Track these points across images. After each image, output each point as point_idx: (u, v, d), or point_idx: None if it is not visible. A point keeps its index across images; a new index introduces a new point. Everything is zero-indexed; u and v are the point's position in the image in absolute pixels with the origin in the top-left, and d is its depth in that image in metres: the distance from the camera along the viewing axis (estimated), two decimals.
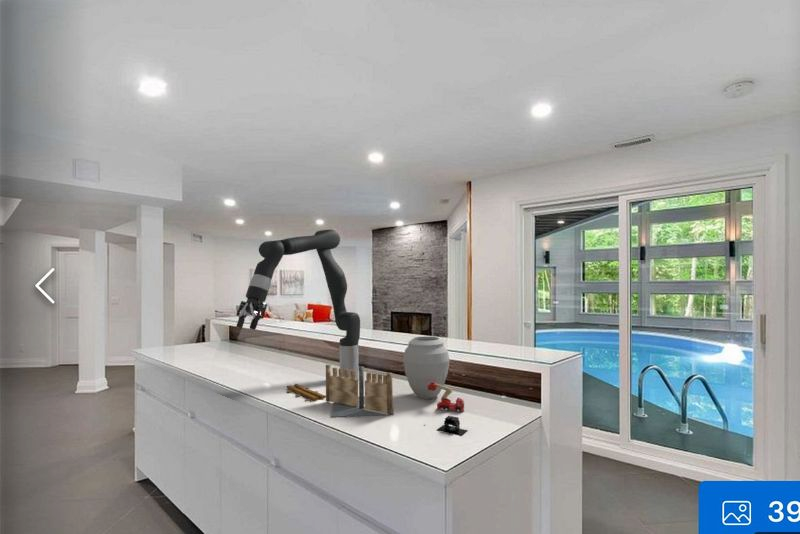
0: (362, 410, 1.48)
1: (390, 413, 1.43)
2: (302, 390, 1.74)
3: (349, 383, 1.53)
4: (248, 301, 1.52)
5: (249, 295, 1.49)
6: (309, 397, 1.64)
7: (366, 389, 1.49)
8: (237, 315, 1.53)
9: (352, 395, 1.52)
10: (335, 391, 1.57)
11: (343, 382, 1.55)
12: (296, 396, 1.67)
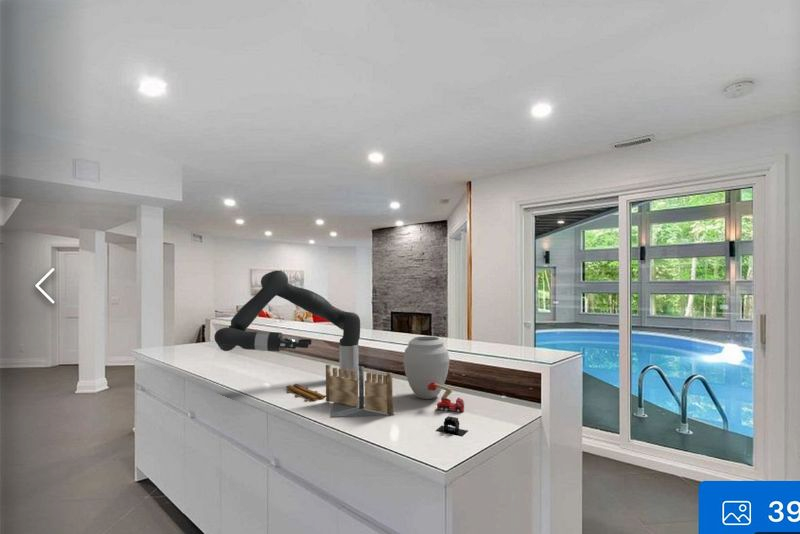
0: (362, 410, 1.48)
1: (390, 413, 1.43)
2: (302, 390, 1.74)
3: (349, 383, 1.53)
4: None
5: (278, 351, 1.56)
6: (309, 397, 1.64)
7: (366, 389, 1.49)
8: None
9: (352, 395, 1.52)
10: (335, 391, 1.57)
11: (343, 382, 1.55)
12: (296, 396, 1.67)
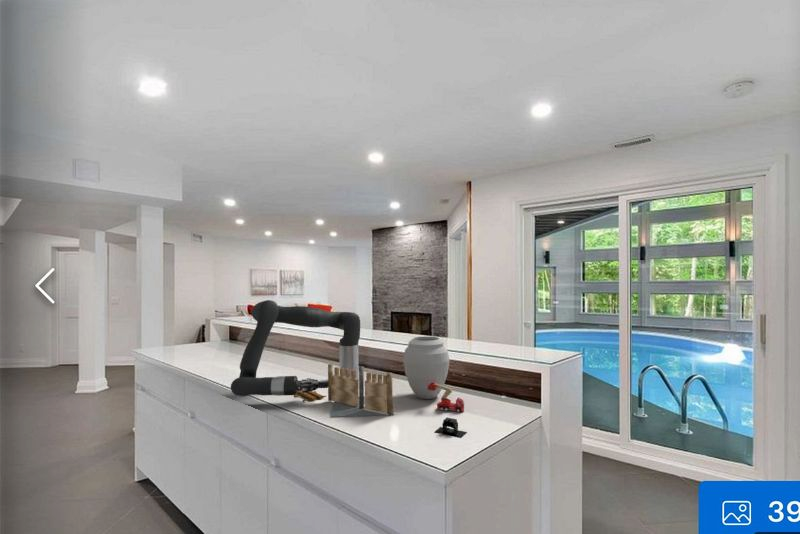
0: (362, 410, 1.48)
1: (390, 413, 1.43)
2: None
3: (350, 383, 1.53)
4: None
5: None
6: (307, 397, 1.64)
7: (366, 389, 1.49)
8: None
9: (352, 395, 1.52)
10: (336, 390, 1.57)
11: (344, 382, 1.55)
12: (295, 396, 1.67)
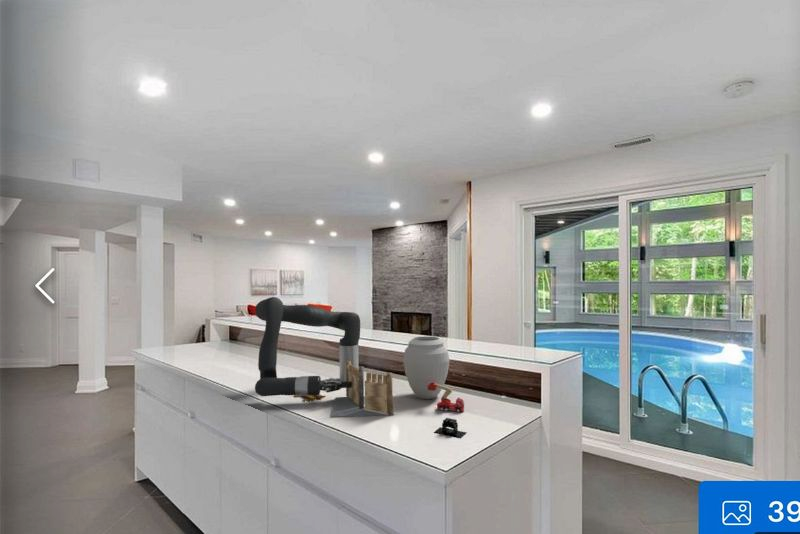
0: (362, 410, 1.48)
1: (390, 413, 1.43)
2: None
3: (355, 381, 1.55)
4: None
5: (318, 394, 1.58)
6: (307, 397, 1.64)
7: (366, 389, 1.49)
8: None
9: (356, 394, 1.54)
10: None
11: (353, 380, 1.58)
12: (294, 396, 1.67)
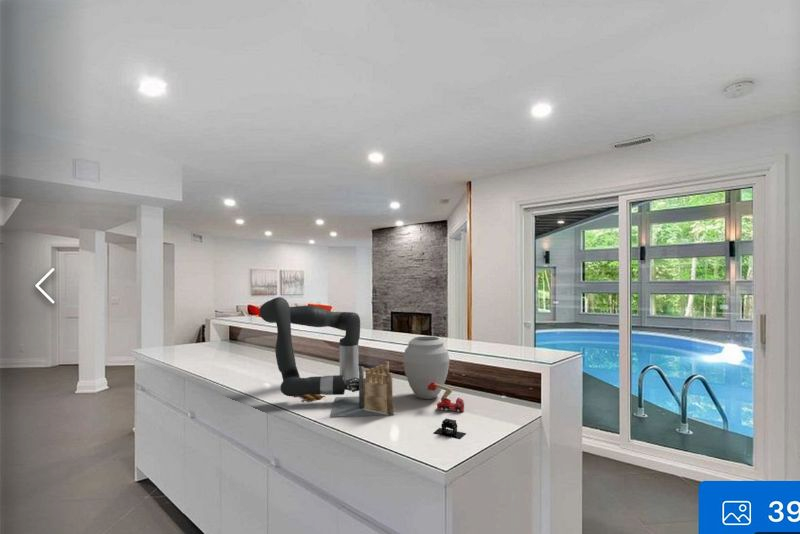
0: (362, 410, 1.48)
1: (390, 413, 1.43)
2: None
3: None
4: None
5: None
6: (306, 397, 1.64)
7: (366, 389, 1.49)
8: None
9: None
10: None
11: None
12: (294, 396, 1.67)
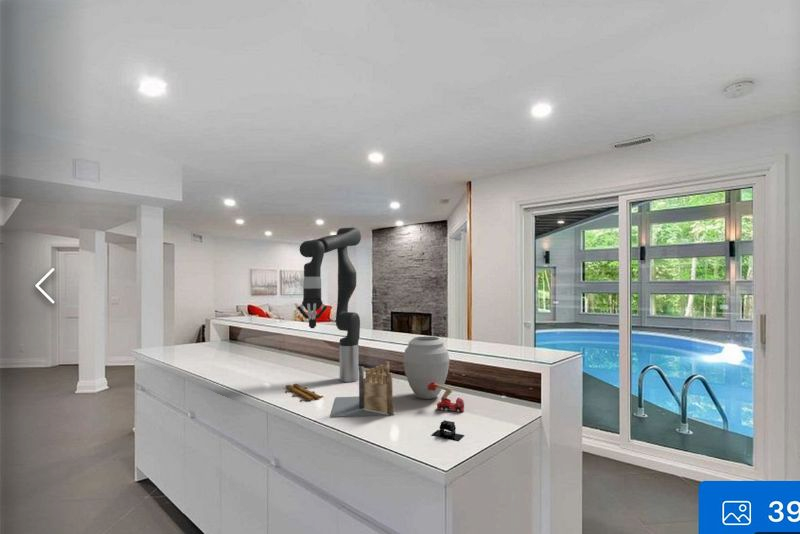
0: (362, 410, 1.48)
1: (390, 413, 1.43)
2: (300, 390, 1.75)
3: None
4: (306, 301, 1.67)
5: (313, 297, 1.65)
6: (304, 397, 1.64)
7: (366, 389, 1.49)
8: (307, 317, 1.67)
9: None
10: None
11: None
12: None
